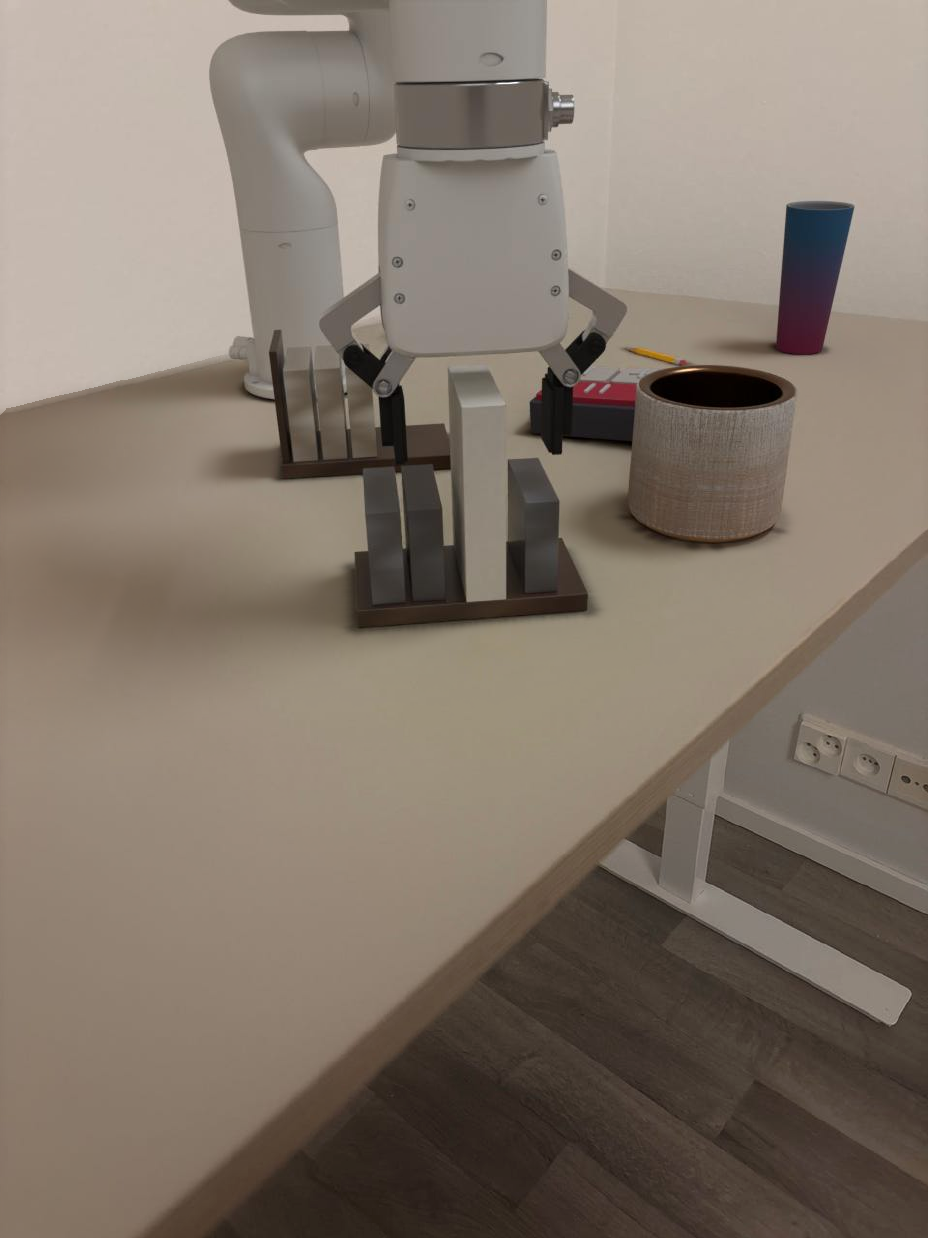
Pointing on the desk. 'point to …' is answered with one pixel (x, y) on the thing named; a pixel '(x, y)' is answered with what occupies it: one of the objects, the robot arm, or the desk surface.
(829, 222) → the cup
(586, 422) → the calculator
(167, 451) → the desk surface
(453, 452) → the white book
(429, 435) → the brown rack
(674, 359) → the pencil
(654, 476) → the planter
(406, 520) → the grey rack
